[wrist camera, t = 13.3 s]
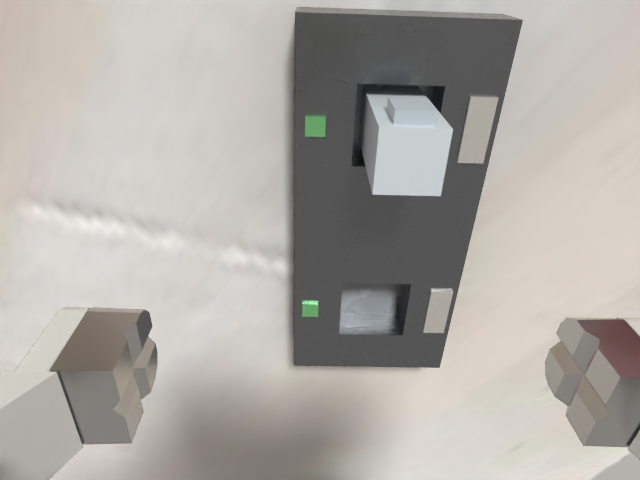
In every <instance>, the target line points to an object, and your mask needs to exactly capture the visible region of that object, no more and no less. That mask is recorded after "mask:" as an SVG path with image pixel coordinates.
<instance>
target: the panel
mask: <svg viewBox="0 0 640 480" xmlns="http://www.w3.org/2000/svg"><path fill="white" fill-rule="evenodd" d="M522 21H523V20H521V19H518V18H514V17H511V16H507V15H504V14H480V13H452V12H423V11H395V10H367V9H338V8H310V7H297V9H296V12H295V251H294V365H307V366H370V367H433V368H439V367H440V363H441V359H442V355H443V351H444V347H445V342H446V338H447V334H448V330H449V326H450V322H451V317H452V313H453V309H454V305H455V301H456V297H457V292H458V288H459V284H460V280H461V276H462V271H463V267H464V263H465V259H466V255H467V251H468V246H469V242H470V238H471V234H472V230H473V226H474V221H475V217H476V213H477V209H478V205H479V201H480V196H481V192H482V188H483V184H484V180H485V175H486V171H487V167H488V163H489V159H490V155H491V150H492V146H493V142H494V138H495V134H496V130H497V125H498V121H499V117H500V113H501V109H502V105H503V100H504V96H505V92H506V88H507V84H508V80H509V75H510V71H511V67H512V63H513V59H514V54H515V50H516V46H517V42H518V38H519V34H520V29H521V25H522ZM364 87H381V88H416V89H421V91H422V92H423V93H424V94H425V96H426V97H427V98H428V99H429V100H430V102H431V103H432V104H433V105H434V106H435V108H436V109H437V110H438V111H439V113H440V114H441V115H442V116H443V117H444V119H445V120H446V121H447V122H448V124H449V125H450V126H451V127H452V128H453V133H452V138H451V143H450V149H449V154H448V160H447V165H446V170H445V176H444V181H443V186H442V192H441V196H410V195H372V191H371V187H370V183H369V178H368V174H367V170H366V166H365V162H364V158H363V154H362V150H361V146H360V142H359V141H360V128H361V115H362V102H363V89H364Z"/></svg>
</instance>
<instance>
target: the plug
mask: <svg viewBox="0 0 640 480" xmlns="http://www.w3.org/2000/svg"><path fill="white" fill-rule="evenodd" d="M452 133H453V128H452V127H451V126H450V125H449V124H448V122H447V121H446V120H445V119H444V117H443V116H442V115H441V114H440V113H439V111H438V110H437V109H436V108H435V106H434V105H433V104H432V103H431V102H430V100H429V99H428V98H427V97H426V96H425V94H424V93H423V92H422V91H421V89H416V88H381V87H364V89H363V102H362V115H361V128H360V141H359V142H360V146H361V150H362V154H363V158H364V162H365V166H366V170H367V174H368V178H369V183H370V187H371V191H372V195H410V196H441V192H442V186H443V181H444V176H445V170H446V165H447V160H448V154H449V149H450V143H451V138H452Z"/></svg>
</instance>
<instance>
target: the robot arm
mask: <svg viewBox="0 0 640 480" xmlns="http://www.w3.org/2000/svg"><path fill="white" fill-rule="evenodd" d="M151 328H152V322H151V318H150V314H149V312H148V311H146V310H143V309H118V308H94V307H93V308H83V307H65V308H63V309H61V310H59V311H58V312H57V314H56V315H55V316H54V318H53V319H52V320H51V322H50V323H49V325H48V326H47V327H46V329H45V330H44V331H43V333H42V334H41V336H40V337H39V338H38V340H37V341H36V342H35V344H34V345H33V347H32V348H31V349H30V351H29V352H28V353H27V355H26V356H25V358H24V359H23V360H22V362H21V363H20V364H19V366H18V367H17V369H16V370H15V371H5V372H3V373H2V374H0V480H49V479H50V478H51V477H52V476H53V475H54V474H55V473H56V472H58V471H59V470H60V469H61V468H62V467H63V466H64V465H65V464H66V463H67V462H68V461H69V460H70V459H71V458H72V457H73V456H74V455H75V454H76V453H77V452H78V451H79V450H81V449H82V448H83V445H82V444H119V443H132V441H133V439H134V436H135V433H136V431H137V428H138V425H139V422H140V420H141V417H142V414H143V407H142V403H141V399H143V398H144V397H145V396H146V395H148V394H149V393H150V392H151V390H152V387H153V384H154V381H155V376H156V370H157V349H156V343H155V342H154V341H152V340H151V339H150V338H149V337H148V335H149V333H150V330H151ZM557 335H558V337H559V339H560V342H559V343H557V344H556V345H555V346H553V347H552V348H551V349H550V350H549V352H548V355H547V358H546V361H545V376H546V379H547V382H548V385H549V387H550V389H551V391H552V393H553V395H554V396H555V397H556V398H557V399H559V400H560V401H562V402H563V403H564V404H566V405H567V406H568V407H567V411H566V417H567V419H568V421H569V422H570V424H571V426H572V427H573V429H574V431H575V432H576V434H577V436H578V438H579V439H580V441H581V443H582V444H583V446H607V447H629V448H628V450H629V451H630V452H631V453H632V454H633V455H635V456H636V457H637V458H638V459H639V460H640V318H566V319H565V320H564V321H562V322H561V324H560V326H559V328H558V330H557Z"/></svg>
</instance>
